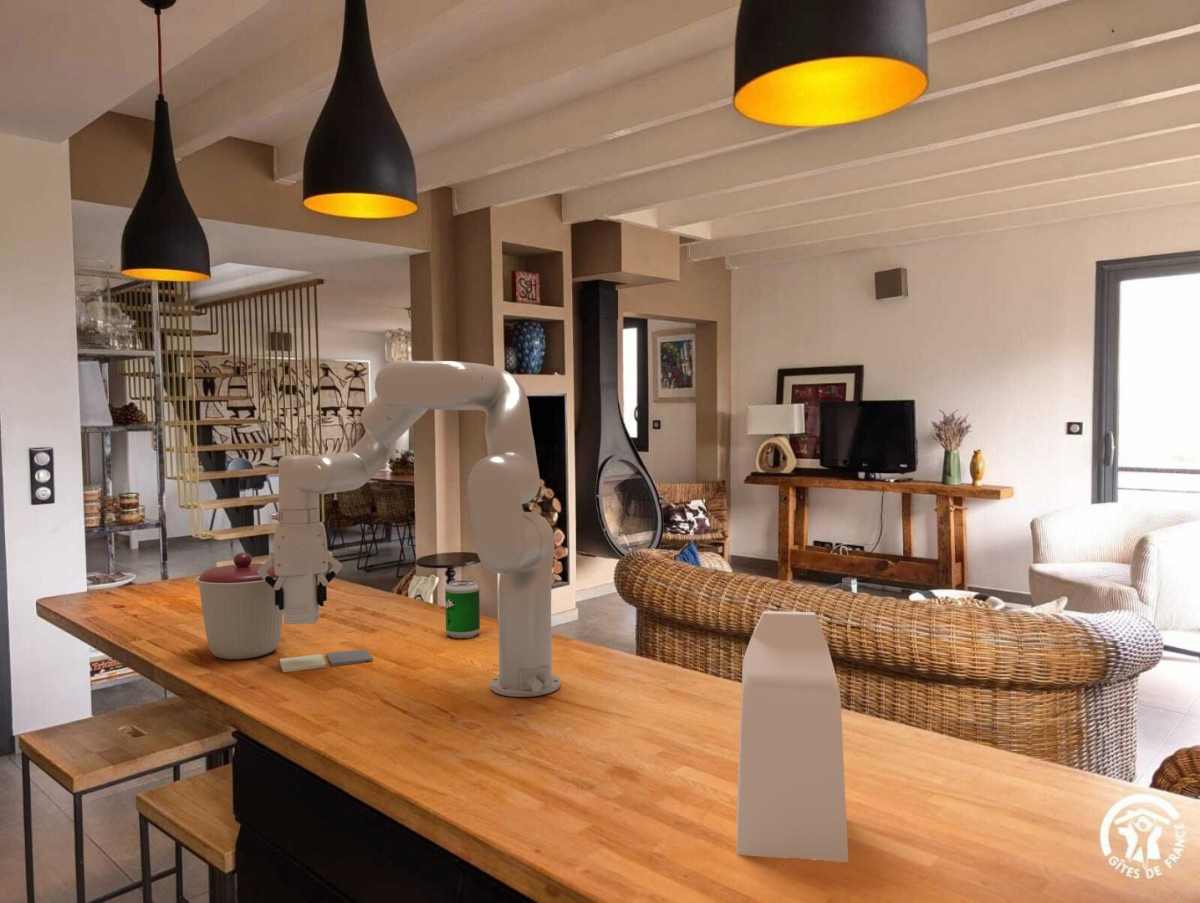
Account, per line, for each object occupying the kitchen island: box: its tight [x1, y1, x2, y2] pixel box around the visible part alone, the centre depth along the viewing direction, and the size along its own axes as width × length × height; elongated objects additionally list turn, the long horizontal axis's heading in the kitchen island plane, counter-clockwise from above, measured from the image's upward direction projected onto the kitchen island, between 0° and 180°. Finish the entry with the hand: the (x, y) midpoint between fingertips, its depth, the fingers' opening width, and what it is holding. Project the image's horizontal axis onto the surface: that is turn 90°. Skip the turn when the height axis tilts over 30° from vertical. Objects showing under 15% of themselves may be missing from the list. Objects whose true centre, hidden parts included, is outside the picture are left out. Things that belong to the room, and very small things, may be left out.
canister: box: [194, 552, 284, 660], centre depth 179 cm, size 18×18×21 cm
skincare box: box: [282, 564, 320, 625], centre depth 170 cm, size 6×4×12 cm
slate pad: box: [325, 648, 374, 667], centre depth 174 cm, size 8×8×1 cm
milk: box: [736, 610, 849, 863], centre depth 100 cm, size 12×12×26 cm
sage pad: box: [279, 653, 327, 673], centre depth 171 cm, size 8×8×1 cm
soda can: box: [444, 579, 481, 639], centre depth 192 cm, size 8×8×12 cm
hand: (301, 606), depth 170 cm, fingers closed on skincare box, 6 cm apart
